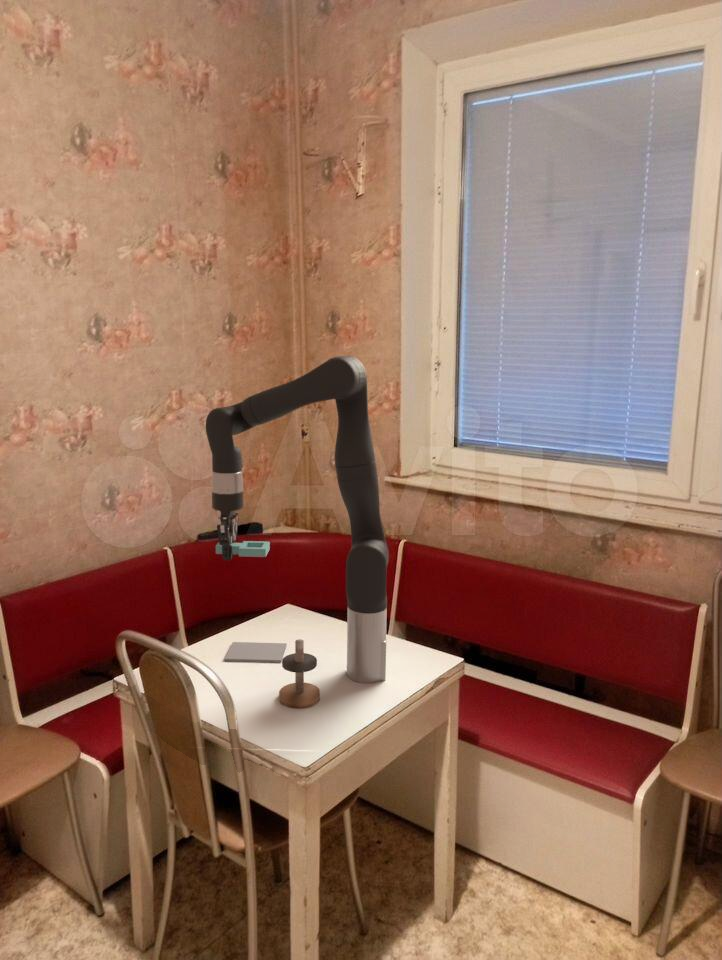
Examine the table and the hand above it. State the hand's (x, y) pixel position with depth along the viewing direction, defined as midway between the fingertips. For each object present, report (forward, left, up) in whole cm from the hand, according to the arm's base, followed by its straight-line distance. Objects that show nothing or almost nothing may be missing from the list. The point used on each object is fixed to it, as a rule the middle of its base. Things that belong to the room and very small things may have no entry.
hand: (228, 557), depth 174 cm
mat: (-7, 0, -25) cm, 26 cm away
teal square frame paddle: (-3, 0, +1) cm, 4 cm away
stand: (-20, +22, -25) cm, 39 cm away
